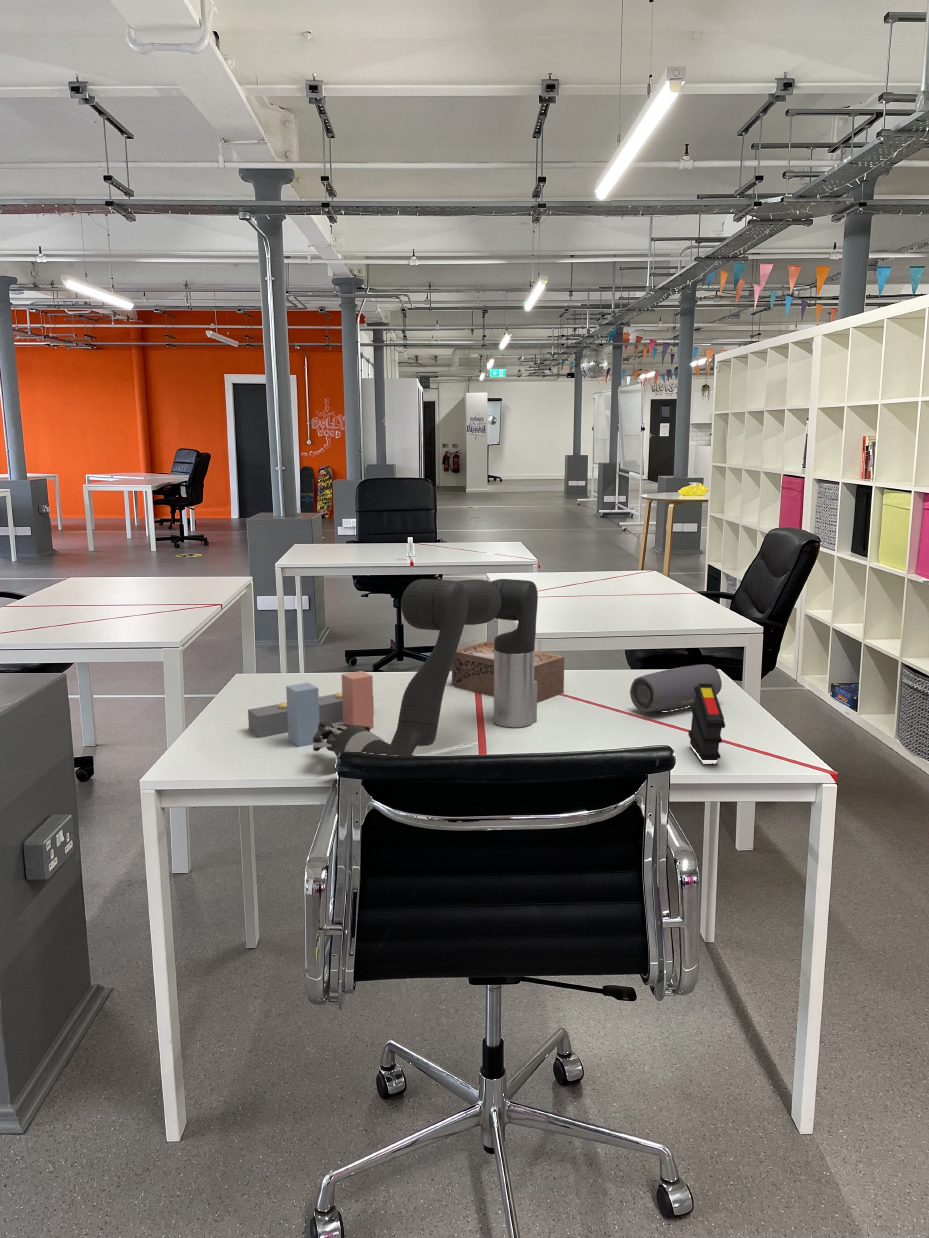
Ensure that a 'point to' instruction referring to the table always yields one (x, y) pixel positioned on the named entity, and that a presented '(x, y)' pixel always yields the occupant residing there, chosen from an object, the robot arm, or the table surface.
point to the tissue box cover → (478, 671)
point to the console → (276, 719)
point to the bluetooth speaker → (672, 687)
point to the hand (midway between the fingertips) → (322, 726)
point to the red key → (357, 699)
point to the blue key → (302, 713)
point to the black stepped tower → (706, 722)
